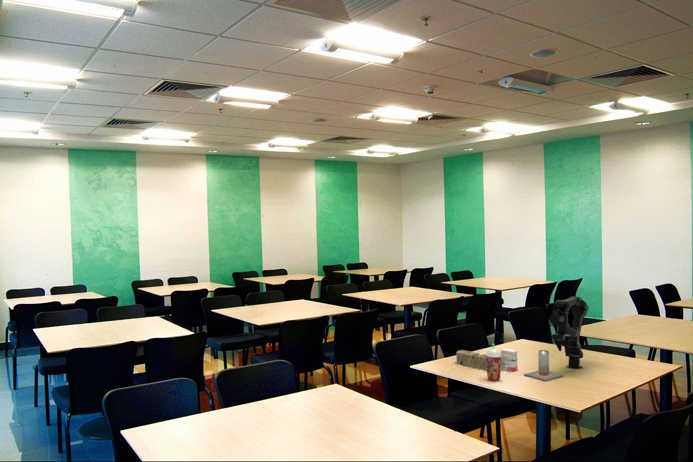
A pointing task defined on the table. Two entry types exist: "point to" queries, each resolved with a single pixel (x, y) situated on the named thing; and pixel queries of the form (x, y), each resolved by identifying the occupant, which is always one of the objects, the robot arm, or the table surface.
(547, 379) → the rubber mat
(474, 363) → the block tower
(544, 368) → the steel sleeve
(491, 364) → the smoothie
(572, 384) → the table surface
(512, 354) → the ink box
